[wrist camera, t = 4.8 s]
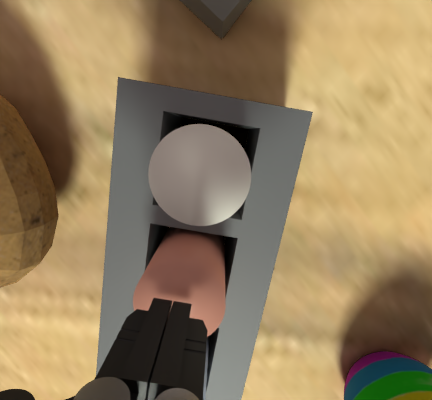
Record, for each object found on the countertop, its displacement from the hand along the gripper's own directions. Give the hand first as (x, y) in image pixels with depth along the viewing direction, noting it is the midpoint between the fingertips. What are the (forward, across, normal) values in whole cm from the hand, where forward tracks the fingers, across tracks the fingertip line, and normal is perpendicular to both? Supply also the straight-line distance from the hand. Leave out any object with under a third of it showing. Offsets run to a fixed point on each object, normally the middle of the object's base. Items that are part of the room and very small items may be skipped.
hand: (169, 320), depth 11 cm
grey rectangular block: (+10, 0, 0) cm, 10 cm away
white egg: (+7, 0, -6) cm, 9 cm away
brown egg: (+7, 0, 0) cm, 7 cm away
